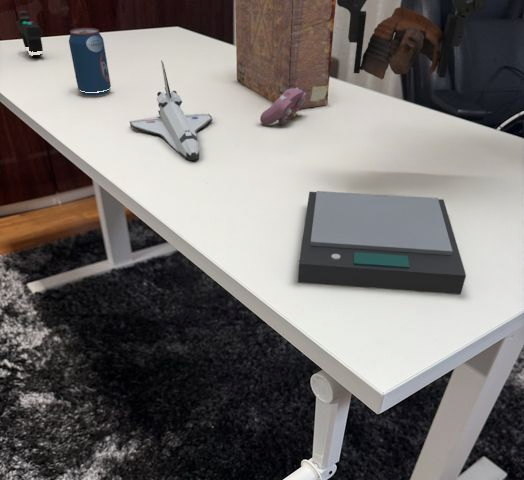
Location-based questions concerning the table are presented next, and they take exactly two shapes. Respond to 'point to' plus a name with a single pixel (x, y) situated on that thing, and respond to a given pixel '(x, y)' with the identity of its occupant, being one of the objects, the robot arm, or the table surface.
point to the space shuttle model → (174, 123)
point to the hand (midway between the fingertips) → (398, 72)
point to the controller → (30, 33)
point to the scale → (380, 243)
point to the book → (285, 47)
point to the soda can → (89, 61)
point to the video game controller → (284, 107)
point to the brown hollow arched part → (401, 43)
